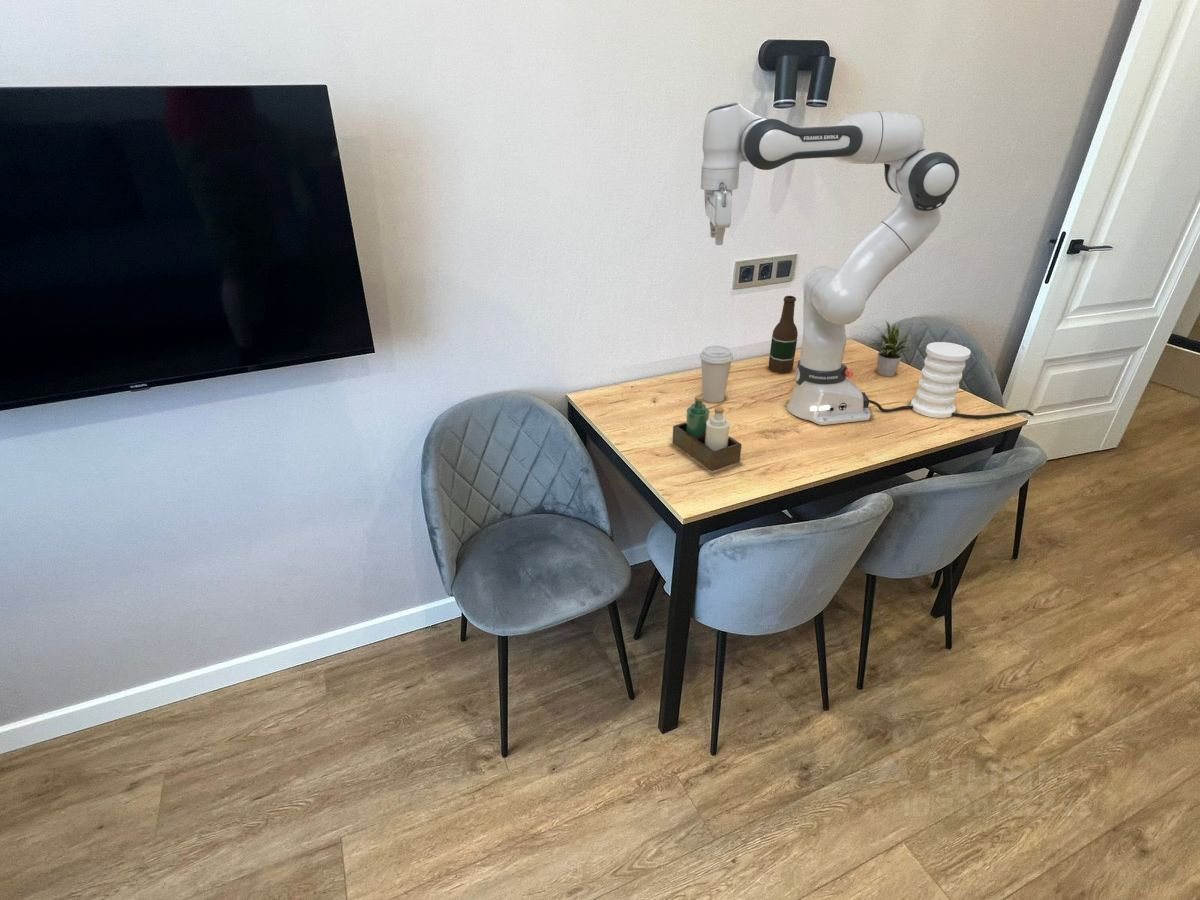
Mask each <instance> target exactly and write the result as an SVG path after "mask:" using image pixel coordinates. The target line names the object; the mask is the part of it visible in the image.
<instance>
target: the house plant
mask: <svg viewBox="0 0 1200 900" xmlns="http://www.w3.org/2000/svg"><path fill="white" fill-rule="evenodd" d="M885 323H886V326H887V327H886V328H887V336H888V337H886V335H884V334H883V332H882V331H880V329H878V327H877V326H874V325H872V327H873V328H875V330H877V331H879V334H880V337H881V338H882V341H883V342H884V344H882V343H880V342H877V341H876V340H874V339H872V338H870V340H871V341H873V343H871V346H876V345H877V346H878V347H879V348H880V351H879V352H878V353H877V368H876V369H877V370H876V372H877V374H878V375H880V376H884V377H893V376H895V374H896V372H897V369H898V367H899V365H900V363H901V361H902V358H903V355H902V354H901V353H903V352H905V351H906V352H907V351H909V352H911V349H907V347H906V346H904V345H903V344H905V343H906V342H908V340H906V339H907V337H908V336H909V335H910V334H911V333H912V331H910V332H908V334H906V335H905V336H904V337H903V338H902V339H901V340H900V341H899V335H900V327H899V326H898V325H897V324H896V323H894V324H893V326H892V327H891V325H890V323H889V322H888V321H887V320H885ZM891 328H892V329H891ZM917 336H918V334H914V335H910V336H909V337H908V339H910V338H911V337H917ZM898 341H899V343H898ZM903 349H904V350H903Z"/></svg>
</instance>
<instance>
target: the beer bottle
mask: <svg viewBox="0 0 1200 900" xmlns="http://www.w3.org/2000/svg"><path fill="white" fill-rule="evenodd" d="M782 301H783V305H782V310H781V315H780V320H779V322H778V323H777V324H776V325H775V326H774V329H773V330H772V335H771V341H770V351H769V358H768V369H769V370H770V371H771V372H772V373H775V374H780V375H781V374H789V373H791V371H793V369H794V363H795V358H796V350H797V343H798V334H799V332H798V328H797V326H796V324H795V318H794V317H795V305H796V301H797V298H796V297H795V296H793V295H786V296H784V297H783V300H782Z"/></svg>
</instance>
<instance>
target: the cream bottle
mask: <svg viewBox="0 0 1200 900" xmlns="http://www.w3.org/2000/svg"><path fill="white" fill-rule="evenodd" d="M724 410H725V408H723V407H722V406H715V407H714V415H712V416H711V417H709V420H707V422H706V432H705V445H706V446H707V447H709V448H710V449H712V450H713V451H716V450H719V449H722V448H725V447H728V438H729V436H730V427H731V423H730V421H729V420H728V419H727V417H726V416H724Z"/></svg>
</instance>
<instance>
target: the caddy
mask: <svg viewBox="0 0 1200 900" xmlns="http://www.w3.org/2000/svg"><path fill="white" fill-rule="evenodd" d="M672 444H673V445H674V446H675V447H677V448H679V450H682V452H684V453H686V454H687V455H689V456H690V457H691V458H693V459H694V460H696V461H697V462H698V463H700V464H701V465H702V466H704V467H705V468H707V469H708V470H709V471H711V472H715V471H718V470H721V469H724V468H726V467H730V466H732V465H735V464H738V463H740V462H741V453H742V445H743V444H742V443H740V441H738V440H736V439H735V438H733V437H731V436H730V435H729V438H728V447H725V448H722V449H719V450H716V451H713V450H712V449H710V448H709V447H707V446H706V445H705V434H704V435H701V436H698V437H695V438H694V437H693V436H691V435H690V434H688V433H687V432H686V421H685V422H681V423H677V424H675V425H673V427H672Z"/></svg>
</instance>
